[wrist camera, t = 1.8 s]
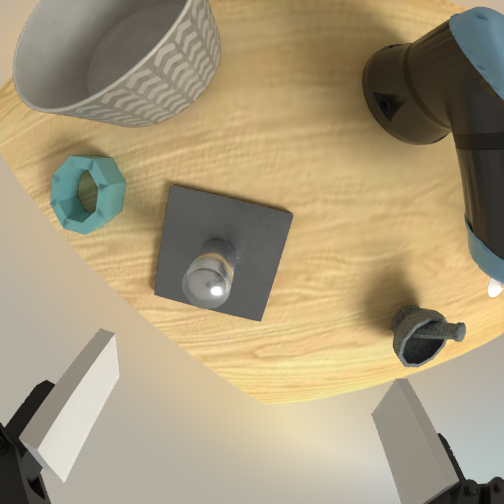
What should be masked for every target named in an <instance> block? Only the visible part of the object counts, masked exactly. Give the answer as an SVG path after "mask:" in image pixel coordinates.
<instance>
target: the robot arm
mask: <svg viewBox="0 0 504 504" xmlns="http://www.w3.org/2000/svg"><path fill="white" fill-rule="evenodd" d="M363 90H364V95H365V98H366V101H367V104H368V106H369V108H370V110H371V112H372V114H373V115H374V117H375V118H376V120H377V121H378V122H379V124H380V125H381V126H382V127H383V128H384V129H385V130H386V131H387V132H388V133H390V134H391V135H392V136H394V137H395V138H397V139H399V140H401V141H403V142H406V143H409V144H414V145H424V144H432V143H436V142H438V141H440V140H442V139H443V138H444V137H446V136H447V135H448V134H449V133H450V132H452V133H453V137H454V141H455V145H456V151H457V156H458V161H459V166H460V172H461V178H462V185H463V192H464V201H465V211H466V212H465V224H466V227H467V233H468V244H469V250H470V253H471V256H472V258H473V260H474V261H475V262H476V263H477V264H478V266H479V268H480V269H481V270H482V271H483V272H484V273H486V274H487V275H488V276H490V277H491V278H493V279H494V280H496V281H498V282H500V283H502V284H504V15H502V14H501V13H499V12H497V11H495V10H493V9H490V8H486V7H475V8H472V9H470V10H467V11H465V12H463V13H460V14H454V15H453V16H451V17H450V19H449V20H447V21H446V22H444V23H442V24H441V25H439V26H438V27H436V28H435V29H433V30H431V31H430V32H428V33H427V34H425V35H424V36H422V37H421V38H419V39H418V40H416V41H415V42H413V43H407V44H395V45H390V46H387V47H384V48H382V49H380V50H379V51H378V52H377V53H375V54H374V55H373V56H372V57H371V58H370V59H369V61H368V62H367V64H366V66H365V69H364V72H363ZM119 376H120V375H119V368H118V359H117V350H116V339H115V333H112V332H110V331H106V330H104V329H99V331H98V332H97V333H96V334H95V335H94V337H93V338H92V339H91V340H90V342H89V343H88V344H87V345H86V346H85V348H84V349H83V350H82V352H81V353H80V354H79V355H78V356H77V358H76V359H75V360H74V362H73V363H72V364H71V365H70V367H69V368H68V369H67V371H66V372H65V373H64V374H63V376H62V377H61V378H60V380H59V381H58V382H57V384H56V385H55V384H53V383H51V382H49V381H48V380H45V381H43V382H42V383H40V384H38V385H36V387H35V388H34V389H33V390H32V392H31V393H30V395H29V396H28V397H27V398H26V399H25V401H24V403H22V405H21V406H20V408H19V409H18V410H17V412H16V413H15V414H14V416H13V417H12V419H11V420H10V421H9V423H8V424H7V426H6V427H5V428H4V427H3V425H2V424H1V423H0V504H51V502H50V499H49V497H48V494H47V491H46V488H45V485H44V483H43V479H42V476H41V474H40V471H41V470H42V468H43V469H44V470H45V471H46V472H47V473H48V474H49V475H51V476H53V477H55V478H56V479H58V480H60V481H62V482H64V483H65V480H66V478H67V476H68V474H69V472H70V470H71V468H72V466H73V464H74V462H75V460H76V457H77V455H78V453H79V451H80V449H81V447H82V445H83V443H84V441H85V440H86V438H87V436H88V434H89V431H90V430H91V428H92V426H93V424H94V422H95V420H96V418H97V417H98V415H99V413H100V411H101V409H102V407H103V405H104V404H105V402H106V400H107V398H108V396H109V394H110V393H111V391H112V389H113V387H114V386H115V384H116V382H117V380H118V378H119ZM371 415H372V417H373V420H374V422H375V425H376V428H377V431H378V434H379V436H380V439H381V442H382V445H383V448H384V451H385V454H386V457H387V460H388V463H389V466H390V468H391V472H392V475H393V478H394V481H395V484H396V487H397V491H398V494H399V497H400V500H401V504H504V480H503V479H502V478H501V477H494V478H493V479H492V480H491V481H490V482H488V483H486V484H477V483H476V482H475V481H474V480H470V479H468V480H466V479H465V477H464V476H463V473H462V471H461V469H460V467H459V465H458V463H457V461H456V459H455V456H453V452H452V450H450V446H449V444H448V442H447V440H446V439H445V438H444V437H443V436H442V435H441V434H440V433H438V434H437V433H436V431H435V429H434V427H433V425H432V423H431V421H430V419H429V417H428V415H427V413H426V412H425V410H424V408H423V406H422V404H421V402H420V401H419V399H418V397H417V395H416V393H415V392H414V390H413V388H412V386H411V384H410V383H409V381H408V379H395V381H394V382H393V384H392V385H391V387H390V388H389V390H388V392H387V393H386V394H385V396H384V397H383V399H382V400H381V402H380V403H379V405H378V406H377V407H376V409H375V410H374V412H373V413H372V414H371Z"/></svg>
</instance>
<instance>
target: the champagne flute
mask: <svg viewBox="0 0 504 504" xmlns="http://www.w3.org/2000/svg"><path fill="white" fill-rule="evenodd" d="M502 289H504V284H502V283H500V282H498V281H496V280H494V279H493V278H491V279H490V281H489V285H488V294H489V295H490V296H491V297H494V296H496V295H498V294H499V293H500V291H501V290H502Z"/></svg>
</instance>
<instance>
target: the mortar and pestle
mask: <svg viewBox="0 0 504 504" xmlns="http://www.w3.org/2000/svg"><path fill="white" fill-rule="evenodd" d="M392 330H393V331H394V333H395V334H394V339H393V348H394V351H395V353H396V355H397V356H398V358H399V359H400V361H401V362H402V364H403V365H404V367H419V366H421V365H423V364H425V363H427V362H428V361H430V360H432V359H433V358H434V357H435V356H436V355H437V354H438V353H439V351H440V350H441V349H442V348H443V347H444V345H445V344H446V340H447V339H454V340H455V341H457V342H460V341H462V340H463V339H464V337H465V333H466V326H465V324H464V323H460V322H458V323H457V324H453V323H447V321H446V318H445V317H444V316H443V315H442V314H440V313H439V312H437V311H435V310H429V309H423V308H419V307H418V306H412V305H410V306H408V307H406V308H404V309H402V310H400V311H399V313H398V314H397V315H396V317H395V318H394V319H393V325H392Z"/></svg>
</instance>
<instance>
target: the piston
mask: <svg viewBox="0 0 504 504" xmlns="http://www.w3.org/2000/svg"><path fill="white" fill-rule="evenodd" d="M292 218H293V214H292V213H288V212H285V211H281V210H277V209H274V208H270V207H266V206H262V205H258V204H254V203H250V202H246V201H242V200H238V199H234V198H230V197H226V196H222V195H217V194H213V193H209V192H204V191H200V190H196V189H191V188H187V187H182V186H177V185H171V188H170V193H169V198H168V203H167V209H166V214H165V220H164V226H163V232H162V239H161V245H160V252H159V260H158V267H157V275H156V284H155V293H154V295H157V296H160V297H164V298H167V299H171V300H175V301H178V302H182V303H186V304H189V305H193V306H196V307H199V308H202V309H209V310H213V311H217V312H221V313H225V314H229V315H233V316H237V317H242V318H246V319H251V320H255V321H260V322H261V319H262V316H263V313H264V310H265V307H266V304H267V301H268V297H269V294H270V291H271V288H272V285H273V281H274V278H275V275H276V272H277V269H278V265H279V262H280V259H281V255H282V252H283V249H284V245H285V242H286V239H287V235H288V232H289V229H290V225H291V222H292Z"/></svg>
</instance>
